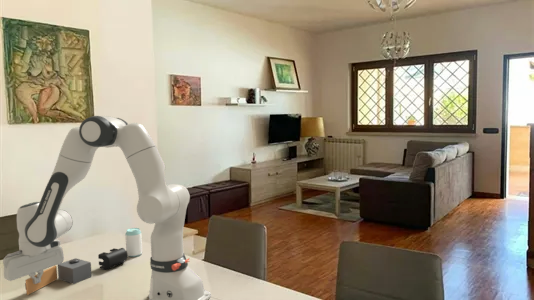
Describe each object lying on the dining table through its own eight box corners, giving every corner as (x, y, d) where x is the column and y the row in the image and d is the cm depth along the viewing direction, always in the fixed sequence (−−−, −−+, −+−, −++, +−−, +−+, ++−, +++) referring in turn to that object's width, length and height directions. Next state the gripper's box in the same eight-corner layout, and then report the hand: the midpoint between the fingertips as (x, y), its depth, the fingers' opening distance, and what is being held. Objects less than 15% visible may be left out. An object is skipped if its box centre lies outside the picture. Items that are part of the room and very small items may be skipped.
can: (145, 252, 187) (143, 227, 186) (138, 257, 180) (136, 231, 179) (131, 251, 188) (129, 227, 187) (123, 257, 181) (122, 231, 180)
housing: (91, 276, 159) (90, 260, 159) (73, 283, 153) (72, 267, 152) (76, 272, 165) (75, 256, 164) (58, 279, 158) (57, 263, 157)
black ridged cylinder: (109, 271, 165) (108, 255, 164) (98, 268, 168) (97, 253, 167) (128, 263, 173) (127, 248, 173) (116, 261, 177) (116, 246, 176)
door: (28, 294, 144) (27, 280, 143) (24, 294, 144) (23, 279, 143) (57, 279, 157) (56, 265, 157) (54, 278, 157) (53, 265, 157)
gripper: (7, 257, 134) (11, 296, 135) (64, 239, 152) (67, 274, 153) (-2, 254, 137) (2, 292, 139) (55, 237, 155) (58, 271, 156)
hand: (36, 282), depth 146 cm, fingers closed
